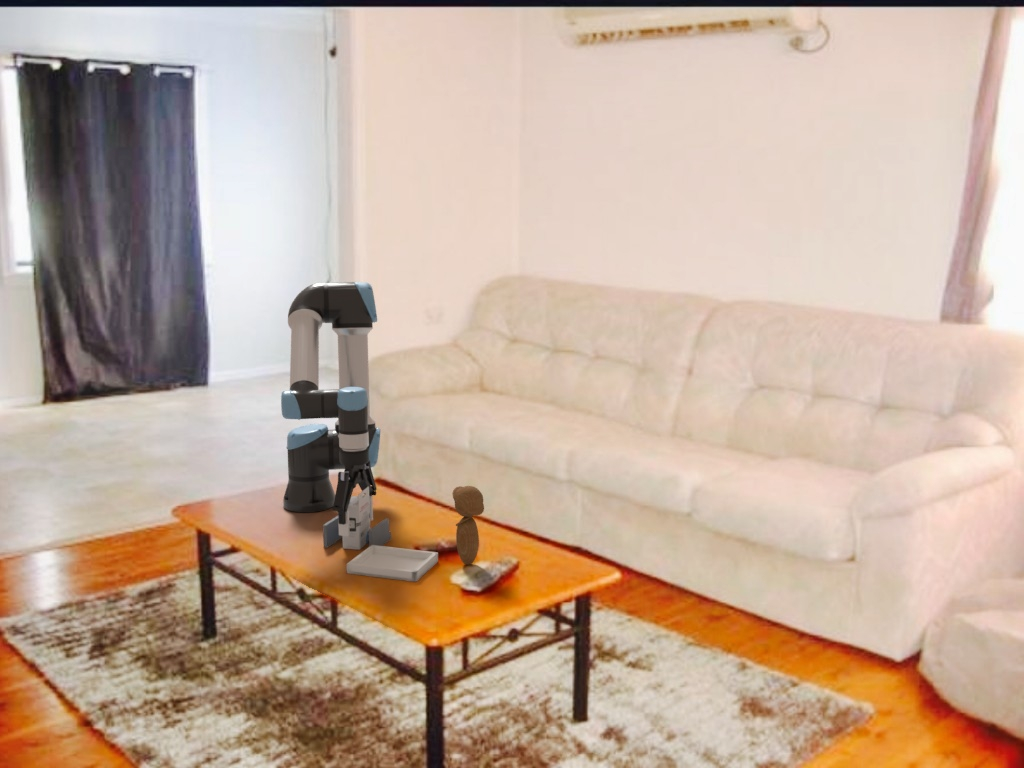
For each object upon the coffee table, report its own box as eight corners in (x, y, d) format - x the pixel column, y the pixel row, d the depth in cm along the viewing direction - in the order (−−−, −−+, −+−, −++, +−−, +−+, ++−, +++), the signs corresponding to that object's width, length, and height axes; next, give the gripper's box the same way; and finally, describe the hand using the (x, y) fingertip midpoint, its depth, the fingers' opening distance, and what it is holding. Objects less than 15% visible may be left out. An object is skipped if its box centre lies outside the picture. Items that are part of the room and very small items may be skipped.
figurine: (465, 556, 260) (464, 479, 257) (490, 561, 257) (490, 483, 253) (447, 568, 253) (446, 489, 249) (472, 573, 249) (472, 493, 246)
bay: (343, 533, 277) (342, 512, 276) (391, 539, 273) (390, 517, 272) (323, 547, 267) (322, 525, 266) (373, 553, 263) (372, 530, 262)
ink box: (353, 538, 274) (351, 484, 271) (371, 539, 273) (369, 485, 270) (342, 548, 266) (340, 493, 263) (360, 550, 265) (358, 494, 262)
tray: (372, 553, 262) (371, 544, 262) (438, 561, 257) (437, 552, 256) (346, 573, 249) (346, 563, 249) (415, 581, 244) (415, 572, 243)
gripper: (362, 436, 277) (364, 512, 281) (317, 458, 254) (320, 541, 258) (387, 438, 275) (389, 514, 279) (344, 460, 252) (347, 544, 256)
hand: (356, 527), depth 269 cm, fingers open, 13 cm apart
